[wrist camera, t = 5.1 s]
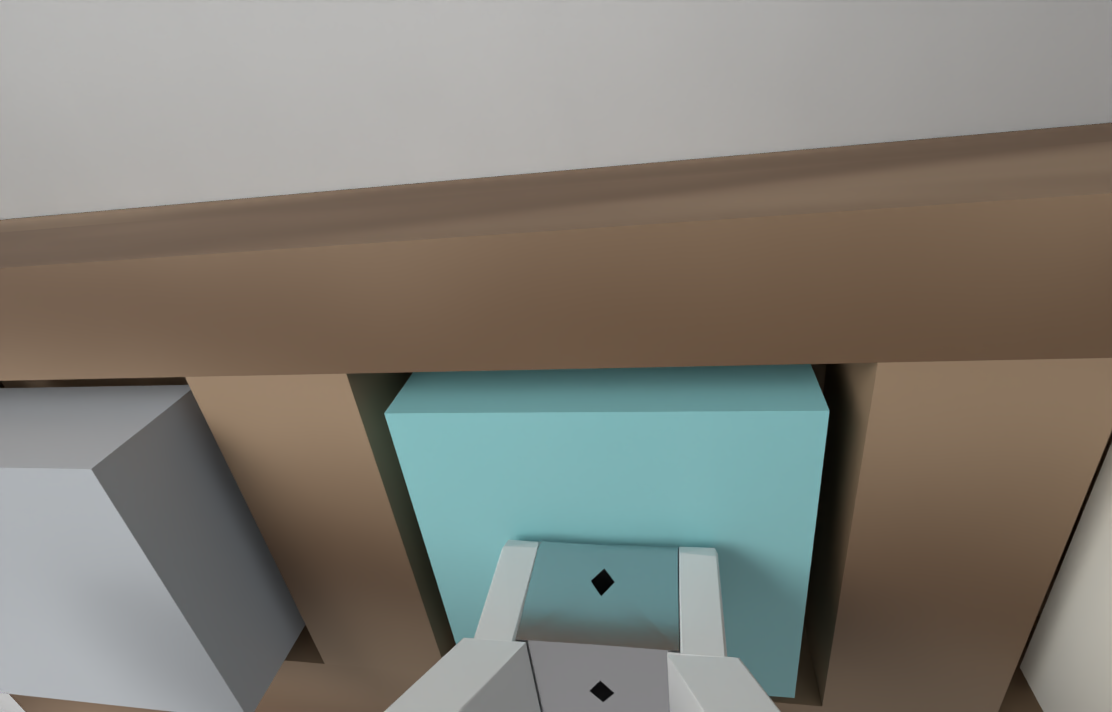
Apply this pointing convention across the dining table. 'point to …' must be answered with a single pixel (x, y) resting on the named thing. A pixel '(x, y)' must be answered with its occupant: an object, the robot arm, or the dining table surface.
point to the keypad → (635, 342)
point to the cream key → (1078, 616)
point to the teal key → (625, 481)
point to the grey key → (131, 556)
